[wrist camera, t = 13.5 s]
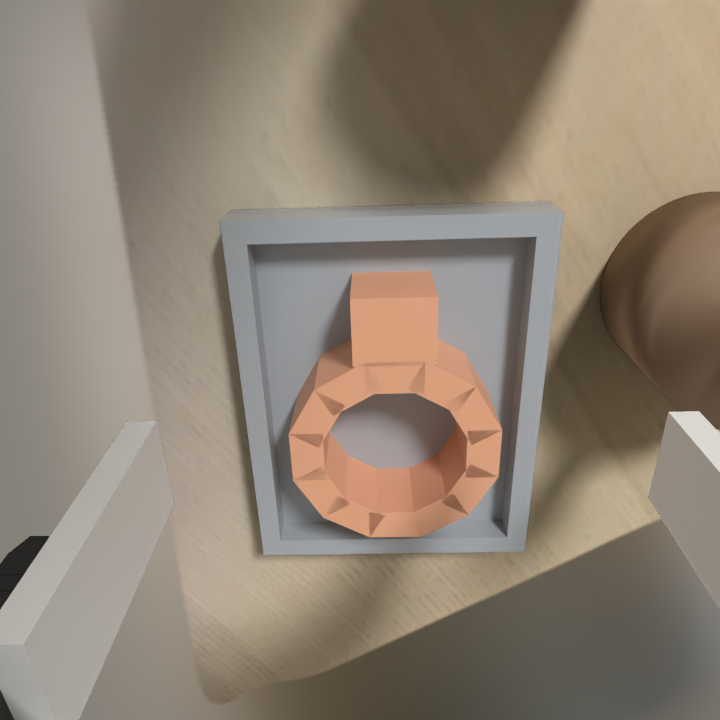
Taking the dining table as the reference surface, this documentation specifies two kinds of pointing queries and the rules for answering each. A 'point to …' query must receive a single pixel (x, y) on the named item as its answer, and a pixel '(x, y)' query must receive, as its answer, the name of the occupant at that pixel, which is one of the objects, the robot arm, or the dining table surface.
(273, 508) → the tray
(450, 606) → the dining table surface
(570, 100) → the dining table surface
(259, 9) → the dining table surface
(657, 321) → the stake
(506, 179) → the dining table surface
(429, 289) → the ring
